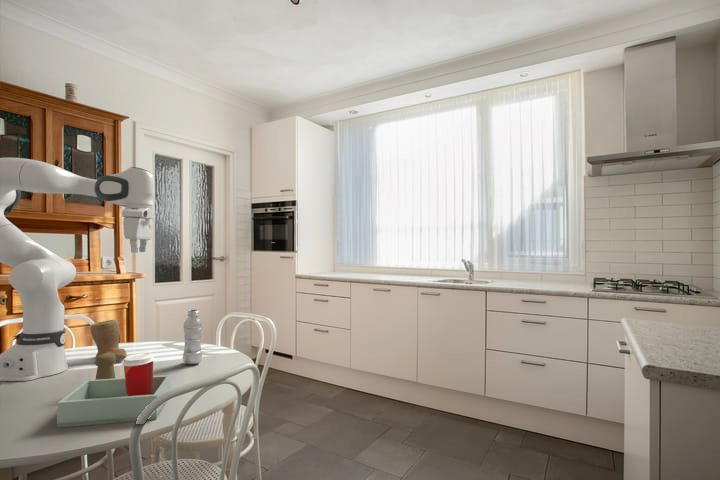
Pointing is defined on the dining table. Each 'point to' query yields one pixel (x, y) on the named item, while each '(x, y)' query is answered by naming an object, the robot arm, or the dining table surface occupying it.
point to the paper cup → (139, 374)
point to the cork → (105, 366)
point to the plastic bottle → (192, 338)
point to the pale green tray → (107, 402)
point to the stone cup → (108, 338)
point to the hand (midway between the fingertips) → (138, 252)
